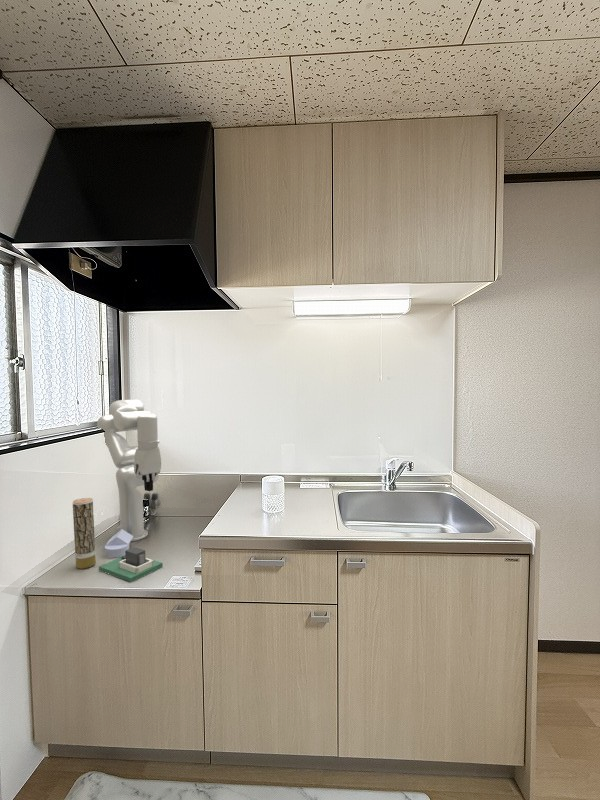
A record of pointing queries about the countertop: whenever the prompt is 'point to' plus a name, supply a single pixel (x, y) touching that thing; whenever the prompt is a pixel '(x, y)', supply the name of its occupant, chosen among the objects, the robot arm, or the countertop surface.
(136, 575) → the board
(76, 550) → the bark patterned cylinder
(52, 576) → the countertop surface
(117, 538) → the wedge on round base
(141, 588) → the countertop surface
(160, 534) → the countertop surface
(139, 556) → the plug
